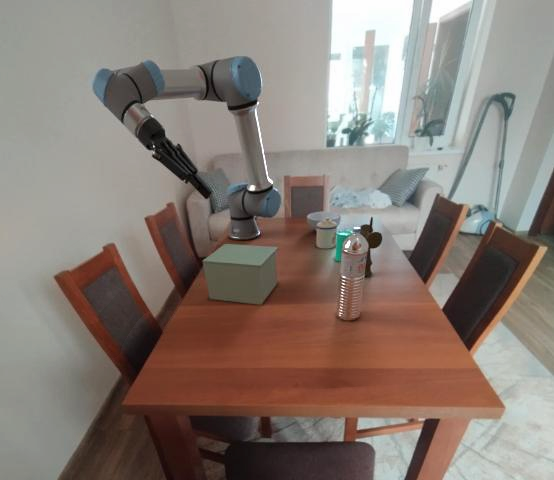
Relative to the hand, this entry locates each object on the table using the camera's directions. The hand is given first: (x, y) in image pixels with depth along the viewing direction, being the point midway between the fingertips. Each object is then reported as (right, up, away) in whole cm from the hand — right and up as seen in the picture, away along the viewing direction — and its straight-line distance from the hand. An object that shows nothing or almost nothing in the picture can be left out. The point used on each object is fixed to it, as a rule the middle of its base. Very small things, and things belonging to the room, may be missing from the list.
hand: (209, 195), depth 98 cm
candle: (+47, -7, +36) cm, 60 cm away
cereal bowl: (+44, +18, +68) cm, 83 cm away
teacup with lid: (+42, +5, +51) cm, 66 cm away
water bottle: (+41, -36, 0) cm, 55 cm away
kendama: (+53, -17, +23) cm, 60 cm away
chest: (+9, -25, +17) cm, 31 cm away
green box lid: (+9, -15, +9) cm, 20 cm away
